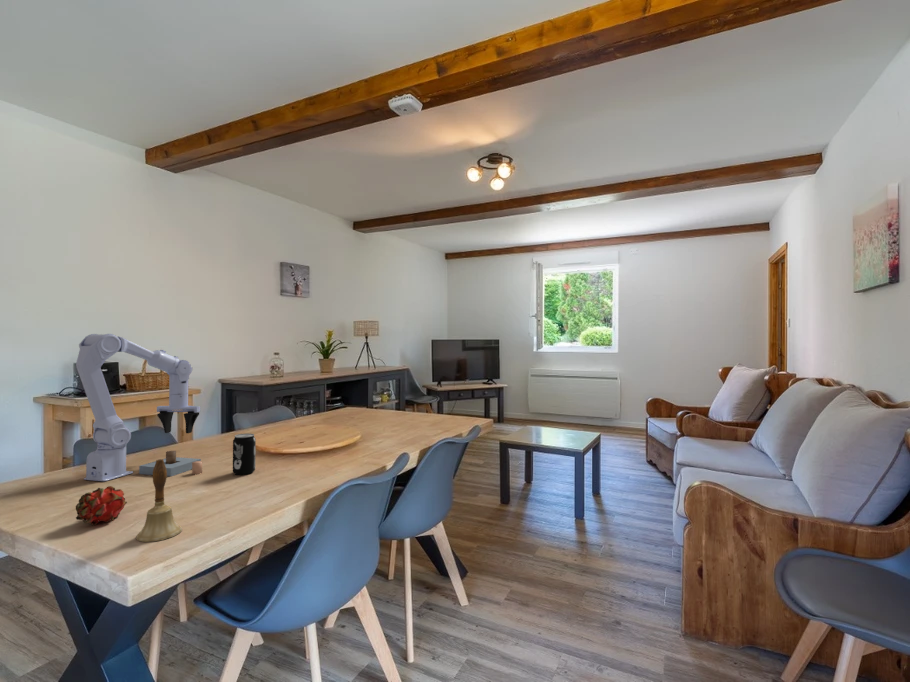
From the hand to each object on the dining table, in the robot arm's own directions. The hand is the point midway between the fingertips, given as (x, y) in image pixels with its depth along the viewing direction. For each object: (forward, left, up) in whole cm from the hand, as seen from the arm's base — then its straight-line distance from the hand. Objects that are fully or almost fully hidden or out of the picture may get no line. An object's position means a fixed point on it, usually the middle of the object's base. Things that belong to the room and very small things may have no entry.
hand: (178, 432), depth 159 cm
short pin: (-11, -18, -10) cm, 23 cm away
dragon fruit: (-49, -27, -10) cm, 57 cm away
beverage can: (-7, -32, -10) cm, 34 cm away
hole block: (-10, -7, -10) cm, 16 cm away
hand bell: (-52, -46, -10) cm, 70 cm away
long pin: (-10, -7, -10) cm, 16 cm away
